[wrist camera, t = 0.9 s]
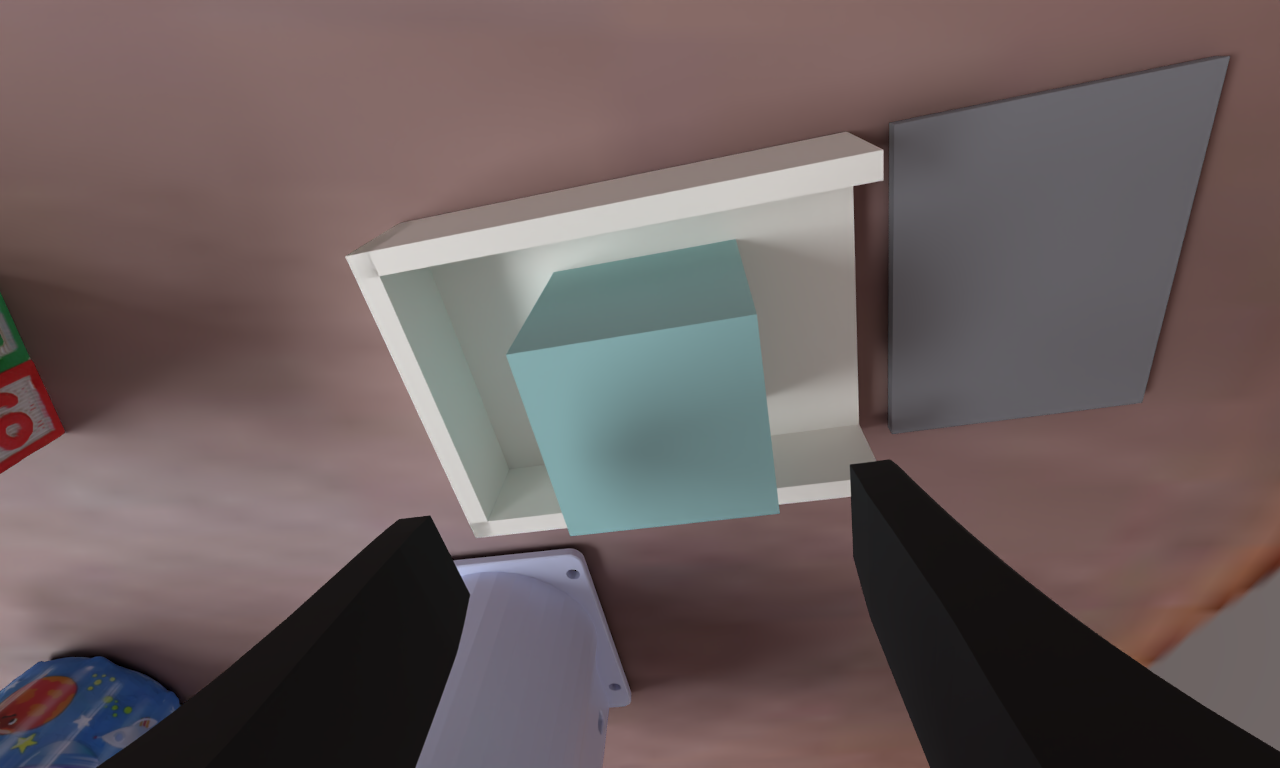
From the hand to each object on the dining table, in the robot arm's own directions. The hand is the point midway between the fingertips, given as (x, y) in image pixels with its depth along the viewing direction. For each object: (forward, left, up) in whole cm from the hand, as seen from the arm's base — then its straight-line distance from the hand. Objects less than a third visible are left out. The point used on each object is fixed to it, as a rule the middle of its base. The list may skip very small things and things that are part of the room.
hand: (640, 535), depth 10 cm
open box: (0, 0, -8) cm, 8 cm away
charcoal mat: (0, -10, -8) cm, 13 cm away
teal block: (0, 0, -8) cm, 8 cm away
